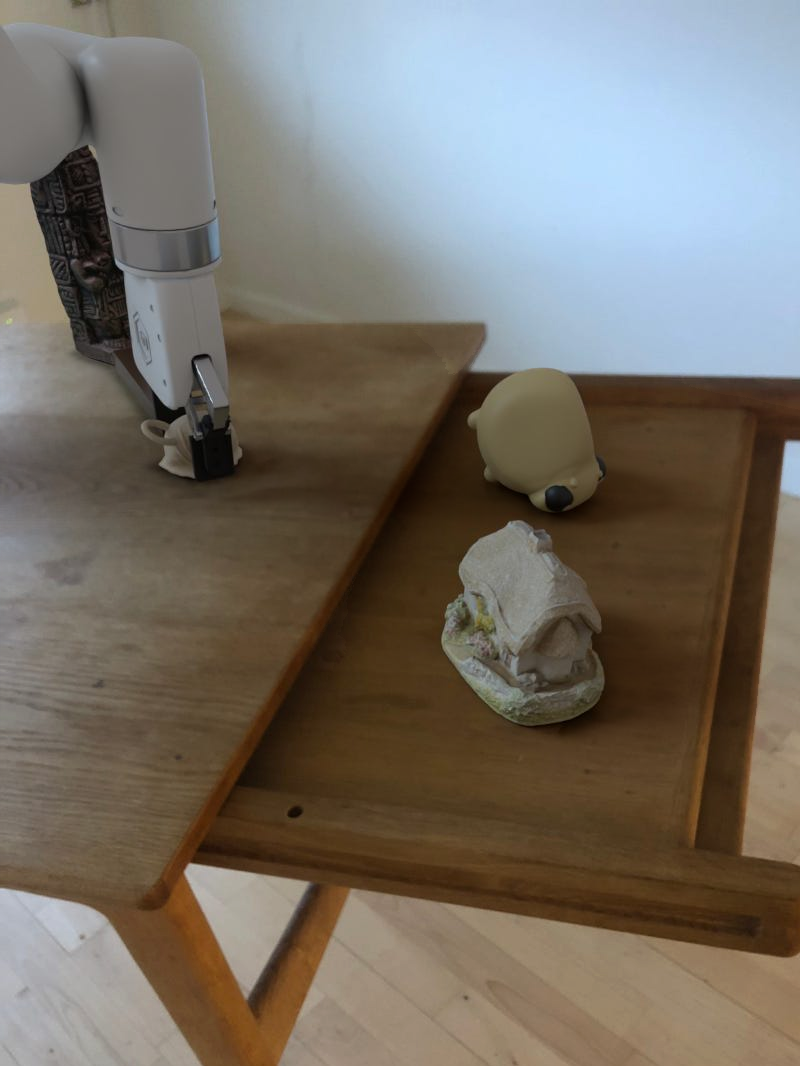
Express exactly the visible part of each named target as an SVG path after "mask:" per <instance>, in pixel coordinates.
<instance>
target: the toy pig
mask: <svg viewBox="0 0 800 1066" xmlns="http://www.w3.org/2000/svg"><path fill="white" fill-rule="evenodd" d="M467 425H468V427H469V428H470V429H471V430H474V431H476V438H477V445H478V448H479V452H480V454H481V457H482V460H483V461H484V463H485V465H486V467H485V469H484V471H483V476H484V478H485V480H486V481H487V482H489V483H496V482H499V483H500V484H501V485H503V486H505V487H506V488H508V489H510V490H512V491H514V492H517V493H521V494H524V495H527V496H528V498H529V500H530V502H531V503H532V505H533V506H534V507H535V508H537V509H539V510H540V511H544V512H547V513H562V512H566V511H569V510H572V509H573V508H575V507H577V506H579V505H581V504H583V503H585V502H586V501H587V500H589V499H590V498H591V497H592V496H594V494H595V492H596V490H597V487H598V485H599V484H600V483H601V482H602V481H603V480H604V478H605V477H606V474H607V465H606V463H605V461H604V460H603V458H602V457H600V456H599V455H597V454H595V446H594V440H593V434H592V428H591V424H590V421H589V418H588V415H587V411H586V409H585V406H584V402H583V400H582V397H581V394H580V392H579V390H578V387H577V386H576V384H575V383H574V381H573V380H572V379H571V377H570V376H569V375H568V374H567V373H565V372H564V371H562V370H559V369H556V368H551V367H534V368H533V367H532V368H528V369H524V370H520V371H518V372H515V373H513V374H510V375H509V376H507V377H505V378H504V379H502V380H501V381H500V382H498V383H497V384H496V385H495V386H493V388H492V389H491V390H490V392H489V393H487V396H486V397H485V399H484V401H482V404H481V407H480V408H478V409H477V410H475V411H473V412H471V413H470V414H469V415H468V418H467Z"/></svg>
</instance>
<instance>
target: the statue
mask: <svg viewBox="0 0 800 1066" xmlns="http://www.w3.org/2000/svg"><path fill="white" fill-rule="evenodd" d="M29 191H30V197H31V199H32V204H33V210H34V211H35V215H36V219H37V222H38V225H39V227H40V231H41V234H42V235H43V239H44V244H45V249H46V253H47V254H48V258H49V267H50V270H51V273H52V276H53V279H54V282H55V284H56V288H57V293H58V296H59V300H60V302H61V304H62V306H63V308H64V311H65V313H66V316H67V317H68V318H69V327H70V329H71V333H72V335H71V336H72V340H73V342H74V347H75V350H76V351H77V352H79V353H80V354H82V355H84V356H86V357H88V358H90V359H94V360H98V361H102V362H105V363H108V364H111V365H115V362H114V357H113V352H112V351H114V350H120V349H126V348H132V341H131V333H130V325H129V317H128V309H127V301H126V292H125V283H124V271H123V270H121V269H120V268H118V266H117V265H116V263H115V257H114V252H113V247H112V241H111V235H110V229H109V223H108V218H107V212H106V206H105V200H104V195H103V189H102V183H101V177H100V171H99V166H98V160H97V157H95V156H94V154H93V152H92V150H91V149H90V145H86V146H83V147H81V148H79V149H77V150H74V151H72V152H70V153H69V154H68V155H67V156H66V157H65V158H64V159H63V160H62V161H61V162H60V163H59V164H58V165H57V166H56V167H55V168H54V169H53V170H52V171H51V172H50V173H49V174H47V175H46V176H44V177H43V178H41V179H39V180H36V181H34V182H31V183H29Z"/></svg>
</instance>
